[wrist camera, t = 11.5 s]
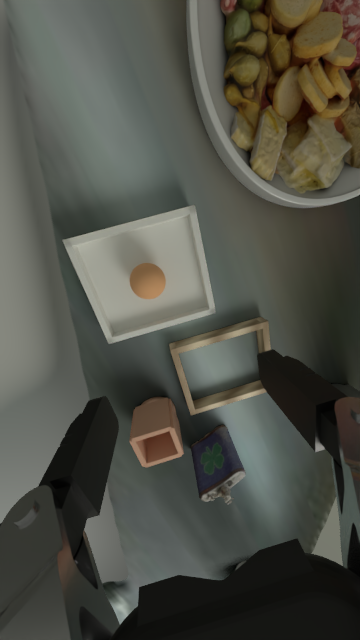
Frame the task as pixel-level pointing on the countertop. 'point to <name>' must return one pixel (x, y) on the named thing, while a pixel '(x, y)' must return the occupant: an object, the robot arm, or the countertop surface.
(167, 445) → the cup
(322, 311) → the countertop surface
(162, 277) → the ball
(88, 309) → the countertop surface
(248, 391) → the corral
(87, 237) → the tray
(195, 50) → the bowl
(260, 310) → the countertop surface
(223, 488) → the flask
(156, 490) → the countertop surface
